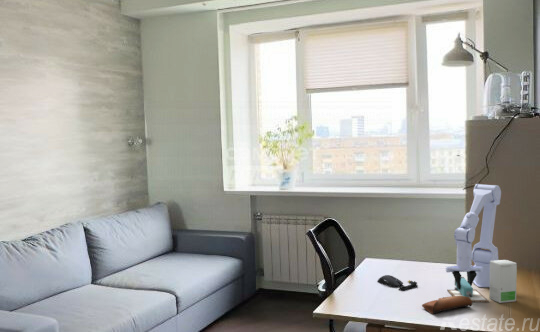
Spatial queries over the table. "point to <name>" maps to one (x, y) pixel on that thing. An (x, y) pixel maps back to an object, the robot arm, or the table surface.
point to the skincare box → (503, 281)
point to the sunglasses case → (447, 303)
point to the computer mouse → (396, 282)
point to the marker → (465, 288)
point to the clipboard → (475, 298)
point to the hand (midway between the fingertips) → (463, 288)
